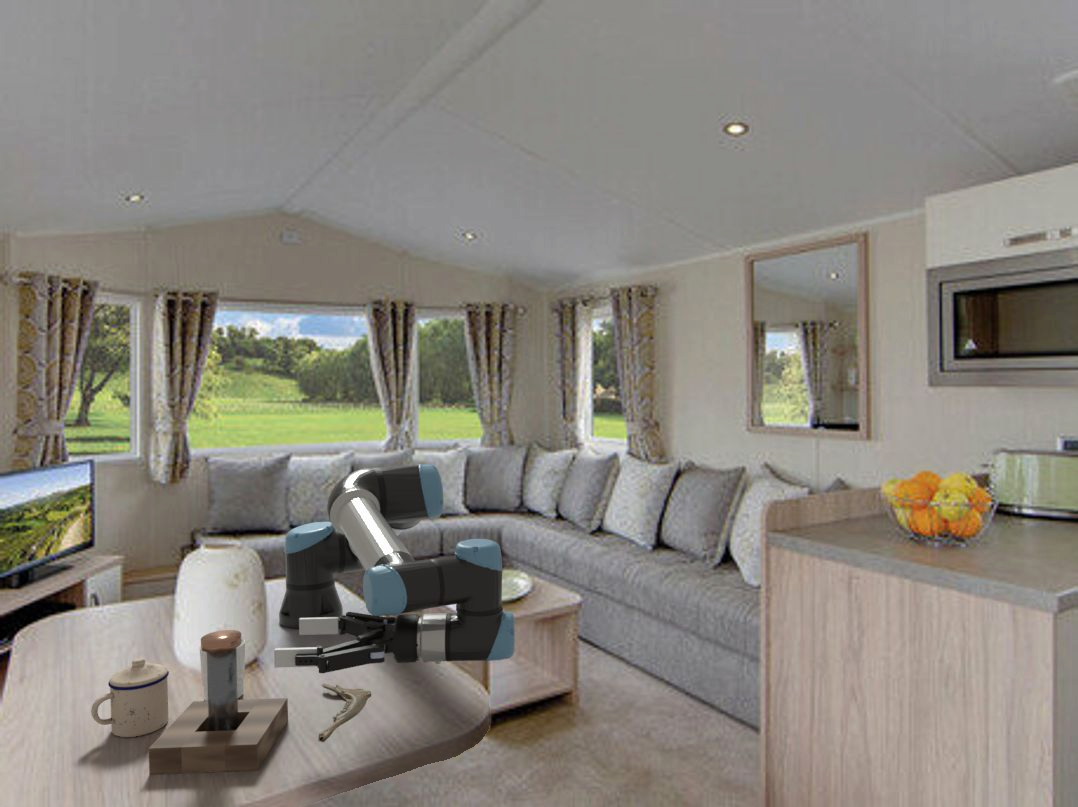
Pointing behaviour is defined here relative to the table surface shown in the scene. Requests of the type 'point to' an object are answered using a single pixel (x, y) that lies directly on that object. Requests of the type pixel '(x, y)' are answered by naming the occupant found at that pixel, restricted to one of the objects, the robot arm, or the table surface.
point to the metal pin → (222, 678)
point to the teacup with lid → (136, 699)
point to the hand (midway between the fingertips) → (287, 641)
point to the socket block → (219, 739)
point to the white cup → (240, 669)
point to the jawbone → (346, 706)
